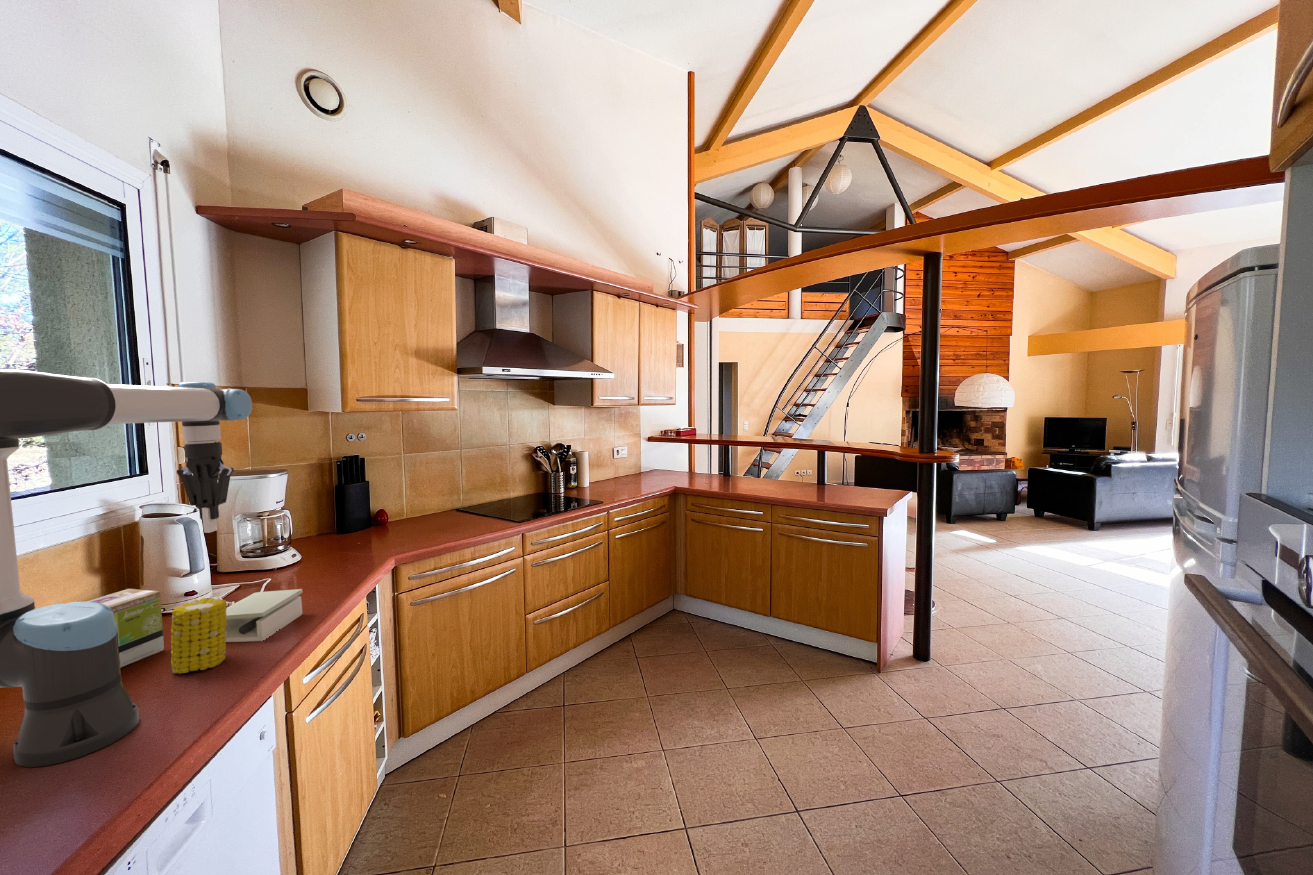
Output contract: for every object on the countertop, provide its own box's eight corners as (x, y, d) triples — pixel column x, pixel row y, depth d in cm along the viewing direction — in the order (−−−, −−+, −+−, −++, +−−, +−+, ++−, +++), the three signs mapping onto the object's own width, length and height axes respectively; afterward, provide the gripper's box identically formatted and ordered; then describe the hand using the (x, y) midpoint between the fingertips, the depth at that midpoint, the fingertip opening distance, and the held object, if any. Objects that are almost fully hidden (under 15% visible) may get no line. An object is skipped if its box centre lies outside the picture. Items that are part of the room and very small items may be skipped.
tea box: (90, 683, 115) (82, 615, 114) (53, 678, 117) (46, 612, 116) (166, 649, 130) (160, 589, 128) (133, 646, 132) (127, 586, 130)
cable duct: (262, 640, 133) (261, 621, 133) (212, 642, 133) (210, 622, 133) (302, 614, 149) (301, 596, 149) (257, 615, 149) (255, 597, 148)
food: (162, 681, 118) (211, 661, 128) (201, 676, 115) (248, 655, 125) (148, 612, 119) (198, 597, 128) (186, 605, 115) (234, 590, 125)
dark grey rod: (247, 633, 135) (246, 626, 135) (239, 634, 135) (238, 626, 135) (281, 612, 148) (280, 605, 148) (273, 612, 148) (272, 605, 148)
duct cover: (263, 616, 133) (262, 612, 133) (210, 620, 132) (209, 616, 132) (302, 592, 149) (302, 588, 149) (255, 595, 148) (255, 592, 148)
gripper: (239, 440, 145) (246, 527, 147) (188, 441, 145) (196, 528, 147) (217, 442, 138) (225, 534, 140) (164, 443, 137) (173, 535, 139)
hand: (210, 531), depth 143 cm, fingers closed
